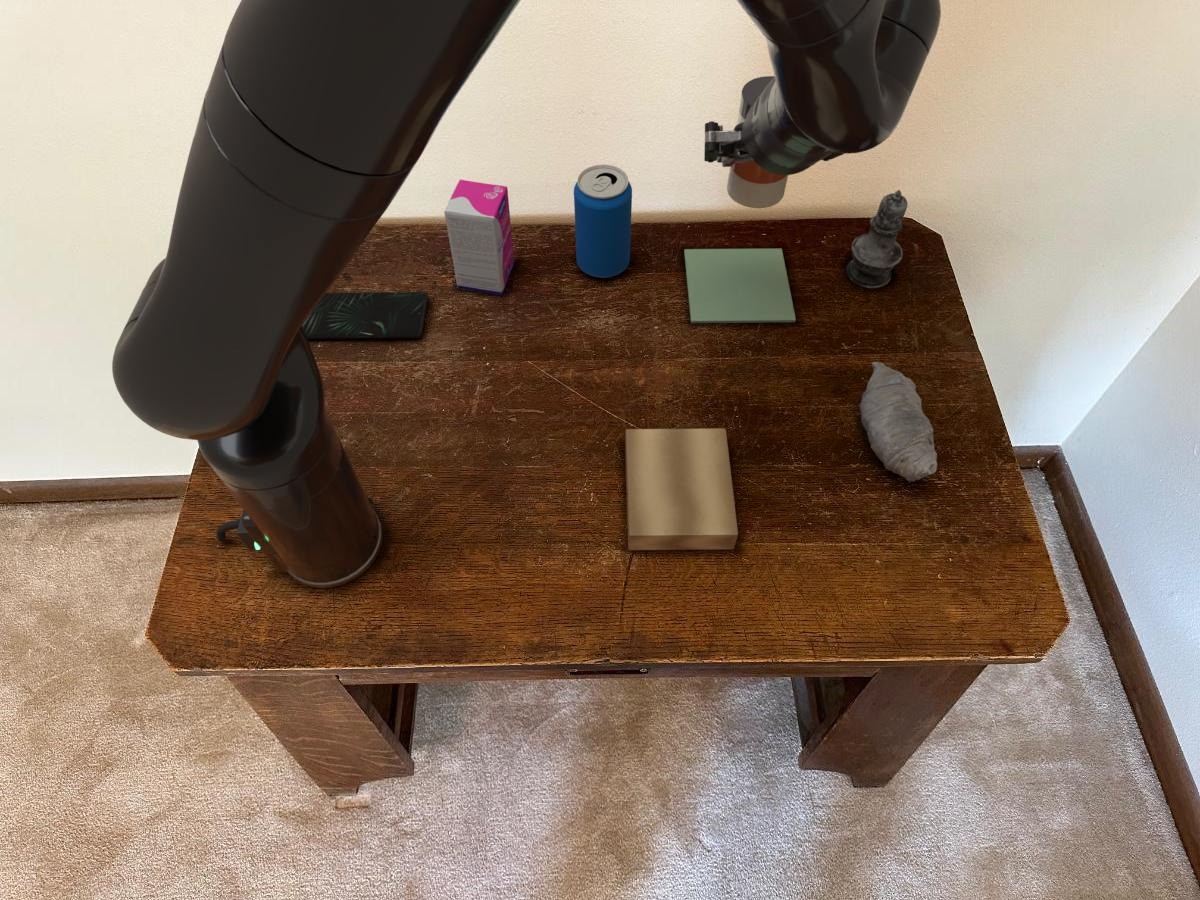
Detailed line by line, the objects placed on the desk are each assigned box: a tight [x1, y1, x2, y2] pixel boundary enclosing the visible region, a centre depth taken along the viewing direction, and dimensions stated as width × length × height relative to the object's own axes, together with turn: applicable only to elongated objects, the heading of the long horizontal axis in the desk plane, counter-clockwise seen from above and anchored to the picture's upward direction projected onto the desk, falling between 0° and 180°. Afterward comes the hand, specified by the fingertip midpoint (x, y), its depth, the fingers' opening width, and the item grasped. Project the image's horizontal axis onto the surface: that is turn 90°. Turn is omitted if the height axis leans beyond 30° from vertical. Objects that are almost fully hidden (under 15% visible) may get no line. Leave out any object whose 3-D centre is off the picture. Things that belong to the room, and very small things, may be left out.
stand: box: [624, 427, 739, 551], centre depth 77 cm, size 10×12×3 cm
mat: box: [683, 247, 797, 324], centre depth 95 cm, size 12×12×1 cm
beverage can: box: [573, 164, 633, 279], centre depth 92 cm, size 6×6×12 cm
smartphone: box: [302, 291, 429, 340], centre depth 91 cm, size 7×1×15 cm
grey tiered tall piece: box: [845, 189, 909, 289], centre depth 91 cm, size 6×6×12 cm
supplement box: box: [443, 179, 515, 296], centre depth 91 cm, size 6×6×12 cm
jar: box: [726, 75, 789, 209], centre depth 79 cm, size 6×11×6 cm
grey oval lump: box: [859, 361, 938, 482], centre depth 80 cm, size 6×14×8 cm, turn 5°
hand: (758, 155), depth 82 cm, fingers closed on jar, 6 cm apart
